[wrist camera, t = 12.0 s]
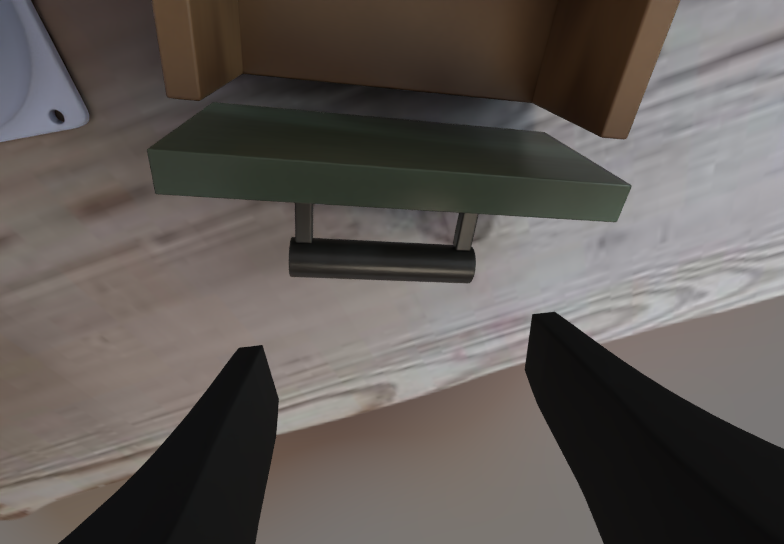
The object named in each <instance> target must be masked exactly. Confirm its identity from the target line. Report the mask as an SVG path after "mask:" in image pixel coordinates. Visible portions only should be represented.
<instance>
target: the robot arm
mask: <svg viewBox="0 0 784 544" xmlns="http://www.w3.org/2000/svg"><path fill="white" fill-rule="evenodd" d="M55 110H58V111H60V112H61V113H62V114H63V115H64V118H65V120H64V122H62V121H61V120H59V119H58V118H57V117H56V116H55ZM89 116H90V115H89V112H88V110H87V108H86V106H85V104H84V102H83V100H82V98H81V96H80V94H79V92H78V90H77V88H76V86H75V84H74V83H73V81H72V79H71V77H70V75H69V73H68V71H67V69H66V67H65V65H64V63H63V61H62V59H61V57H60V55H59V54H58V52H57V50H56V48H55V46H54V44H53V42H52V40H51V38H50V36H49V34H48V32H47V30H46V28H45V27H44V25H43V23H42V21H41V19H40V17H39V15H38V13H37V11H36V9H35V7H34V5H33V3H32V1H31V0H0V142H4V141H9V140H15V139H20V138H25V137H31V136H36V135H42V134H47V133H52V132H58V131H63V130H69V129H74V128H79V127H81V126H83V125H85V124H87V123H88V121H89ZM525 372H526V375H527V378H528V380H529V383H530V386H531V389H532V392H533V394H534V397H535V399H536V402H537V404H538V406H539V408H540V410H541V412H542V414H543V416H544V418H545V420H546V422H547V424H548V426H549V428H550V430H551V432H552V434H553V436H554V437H555V439H556V441H557V443H558V445H559V447H560V449H561V451H562V453H563V455H564V457H565V459H566V461H567V462H568V464H569V466H570V468H571V470H572V472H573V474H574V476H575V478H576V480H577V482H578V483H579V486H580V488H581V490H582V492H583V494H584V496H585V499H586V501H587V504H588V506H589V508H590V511H591V513H592V516H593V518H594V521H595V523H596V525H597V528H598V531H599V533H600V536H601V538H602V540H603V543H604V544H784V449H783V448H781V447H778V446H776V445H774V444H771V443H769V442H767V441H765V440H763V439H761V438H759V437H757V436H755V435H753V434H751V433H748V432H746V431H744V430H742V429H740V428H738V427H736V426H734V425H732V424H730V423H728V422H726V421H724V420H722V419H720V418H718V417H716V416H714V415H712V414H710V413H709V412H707V411H705V410H703V409H701V408H700V407H698V406H695V405H694V404H692V403H690V402H689V401H687V400H685V399H683V398H681V397H680V396H678V395H676V394H674V393H673V392H671V391H669V390H668V389H666V388H664V387H663V386H661V385H660V384H658V383H656V382H655V381H653V380H652V379H650V378H648V377H647V376H645V375H644V374H642V373H640V372H639V371H638V370H636V369H635V368H633V367H632V366H630V365H628V364H627V363H626V362H624V361H623V360H621V359H620V358H618V357H617V356H615V355H614V354H613V353H611V352H610V351H608V350H607V349H606V348H604V347H603V346H601V345H600V344H599V343H597V342H596V341H594V340H593V339H592V338H590V337H589V336H588V335H586V334H585V333H583V332H582V331H581V330H579V329H578V328H577V327H575V326H574V325H573V324H571V323H570V322H568V321H567V320H566V319H564V318H563V317H561V316H560V315H559V314H557V313H556V312H548V313H539V314H532V321H531V328H530V335H529V342H528V350H527V357H526V364H525ZM278 403H279V398H278V395H277V392H276V388H275V385H274V382H273V379H272V375H271V372H270V369H269V365H268V362H267V359H266V355H265V352H264V349H263V346H262V345H259V346H251V347H242V348H238V350H237V351H236V352H235V353H234V354H233V356H232V357H231V358H230V360H229V361H228V362H227V364H226V365H225V366H224V368H223V369H222V371H221V372H220V373H219V375H218V376H217V377H216V379H215V380H214V381H213V383H212V384H211V385H210V387H209V388H208V389H207V390H206V392H205V393H204V394H203V396H202V397H201V398H200V399H199V401H198V402H197V403H196V404H195V406H194V407H193V408H192V410H191V411H190V412H189V413H188V415H187V416H186V417H185V418H184V419H183V421H182V422H181V423H180V424H179V425H178V426H177V428H176V429H175V430H174V431H173V432H172V433H171V435H170V436H169V437H168V438H167V439H166V440H165V441H164V443H163V444H162V445H161V446H160V447H159V448H158V449H157V451H156V452H155V453H154V454H153V455H152V456H151V457H150V458H149V459H148V460H147V461H146V462H145V464H144V465H143V466H142V467H141V468H140V469H139V470H138V471H137V472H136V473H135V474H134V475H133V476H132V477H131V478H130V479H129V480H128V481H127V482H126V483H125V484H124V485H123V486H122V487H121V488H120V489H119V490H118V491H117V492H116V493H115V494H114V495H112V496H111V497H110V498H109V499H108V500H107V501H106V502H105V503H103V505H101V506H100V507H99V508H98V509H97V510H96V511H95V512H94V513H92V514H91V515H90V516H89V517H88V518H87V519H86V520H85V521H84V522H82V524H80V525H79V526H78V527H77V528H76V529H75V530H74V531H72V532H71V533H70V534H69V535H68V536H67V537H65V539H63V540H62V541H61V542H59V543H58V544H255V542H256V535H257V530H258V523H259V519H260V513H261V509H262V504H263V499H264V494H265V489H266V484H267V479H268V474H269V469H270V464H271V459H272V454H273V449H274V444H275V439H276V430H277V418H278Z"/></svg>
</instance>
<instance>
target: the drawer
mask: <svg viewBox="0 0 784 544" xmlns="http://www.w3.org/2000/svg"><path fill="white" fill-rule="evenodd" d="M151 1H152V7H153V14H154V20H155V26H156V33H157V39H158V45H159V52H160V58H161V65H162V71H163V77H164V84H165V90H166V95H167V97H168V98H173V99H184V100H195V101H200V100H202V99H204V98H205V97H207V96H208V95H210V94H211V93H213V92H215V91H216V90H218V89H219V88H221V87H222V86H224V85H225V84H227V83H229V82H230V81H232V80H233V79H235V78H236V77H238V76H240V75H241V74H250V75H260V76H270V77H279V78H289V79H299V80H309V81H319V82H329V83H339V84H349V85H359V86H369V87H379V88H389V89H399V90H409V91H418V92H428V93H438V94H448V95H458V96H468V97H478V98H488V99H498V100H508V101H518V102H528V103H533V104H535V105H537V106H539V107H541V108H543V109H545V110H547V111H549V112H551V113H553V114H555V115H557V116H559V117H561V118H563V119H565V120H567V121H570V122H572V123H574V124H576V125H578V126H580V127H582V128H584V129H586V130H588V131H590V132H592V133H594V134H596V135H598V136H600V137H602V138H613V139H626V138H627V137H628V134H629V132H630V129H631V126H632V124H633V121H634V119H635V116H636V113H637V111H638V108H639V106H640V103H641V101H642V98H643V95H644V93H645V90H646V88H647V85H648V82H649V80H650V77H651V75H652V72H653V70H654V67H655V64H656V62H657V59H658V57H659V54H660V51H661V49H662V46H663V44H664V41H665V38H666V36H667V33H668V31H669V28H670V26H671V23H672V20H673V18H674V15H675V13H676V10H677V7H678V5H679V2H680V0H151ZM147 152H148V158H149V163H150V168H151V173H152V179H153V184H154V189H155V193H156V194H163V195H179V196H196V197H212V198H228V199H245V200H261V201H277V202H294V203H295V237H292V238H291V241H290V248H289V274H290V276H291V277H311V278H337V279H364V280H391V281H418V282H445V283H470V282H471V281H472V279H473V277H474V273H475V267H476V258H475V252H474V249H473V247H471V245H472V241H473V237H474V232H475V228H476V223H477V219H478V215H479V214H490V215H506V216H523V217H539V218H555V219H572V220H588V221H604V222H617V220H618V218H619V215H620V213H621V211H622V208H623V206H624V203H625V201H626V199H627V196H628V194H629V191H630V189H631V185H630V184H629V183H627V182H625V181H624V180H622V179H620V178H619V177H617V176H615V175H614V174H612V173H611V172H609V171H607V170H606V169H604V168H602V167H601V166H599V165H597V164H596V163H594V162H593V161H591V160H589V159H588V158H586V157H584V156H583V155H581V154H579V153H578V152H576V151H575V150H573V149H571V148H570V147H568V146H566V145H565V144H563V143H561V142H560V141H558V140H556V139H555V138H553V137H552V136H550V135H548V134H547V133H545V132H536V131H525V130H514V129H503V128H492V127H481V126H470V125H459V124H448V123H437V122H426V121H415V120H404V119H393V118H382V117H371V116H360V115H349V114H338V113H327V112H316V111H305V110H294V109H283V108H272V107H261V106H250V105H239V104H229V103H218V102H213V103H211V104H210V105H208V106H207V107H206V108H204V109H203V110H201V111H200V112H199V113H197V114H196V115H194V116H193V117H192V118H190V119H189V120H187V121H186V122H185V123H183V124H182V125H180V126H179V127H178V128H176V129H175V130H173V131H172V132H170V133H169V134H168V135H166V136H165V137H163V138H162V139H161V140H159V141H158V142H156V143H155V144H154V145H152V146H151V147H149V148H148V149H147ZM313 204H326V205H343V206H359V207H375V208H392V209H408V210H424V211H441V212H457V213H459V216H458V220H457V225H456V230H455V235H454V240H453V245H442V244H422V243H402V242H382V241H362V240H342V239H322V238H313Z"/></svg>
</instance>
